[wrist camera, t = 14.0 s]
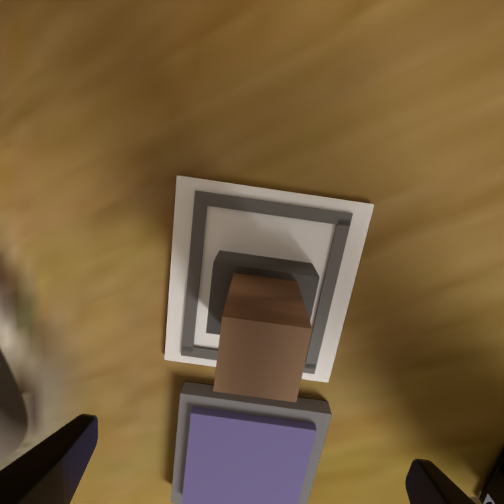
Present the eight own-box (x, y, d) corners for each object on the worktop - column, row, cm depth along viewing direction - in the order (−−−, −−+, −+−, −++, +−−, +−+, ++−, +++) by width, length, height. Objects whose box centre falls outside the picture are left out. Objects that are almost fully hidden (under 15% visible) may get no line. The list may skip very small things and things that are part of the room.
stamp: (312, 263, 18) (344, 322, 11) (299, 324, 20) (321, 414, 12) (219, 250, 18) (192, 302, 11) (212, 313, 20) (184, 396, 12)
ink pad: (328, 401, 22) (333, 421, 20) (300, 504, 25) (303, 528, 23) (184, 381, 22) (177, 399, 20) (174, 486, 25) (168, 510, 23)
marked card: (371, 203, 18) (375, 205, 17) (327, 378, 21) (328, 384, 21) (178, 175, 18) (175, 175, 17) (166, 356, 21) (163, 361, 21)
